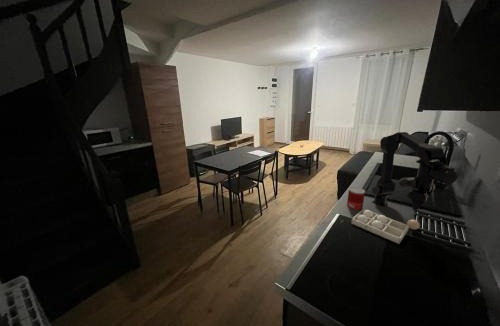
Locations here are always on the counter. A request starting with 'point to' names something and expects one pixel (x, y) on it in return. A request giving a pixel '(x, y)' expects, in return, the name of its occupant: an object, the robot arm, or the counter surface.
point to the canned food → (355, 198)
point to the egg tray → (389, 231)
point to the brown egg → (413, 224)
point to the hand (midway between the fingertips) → (417, 206)
